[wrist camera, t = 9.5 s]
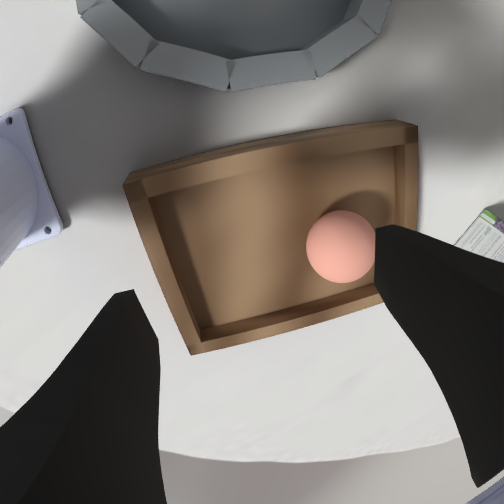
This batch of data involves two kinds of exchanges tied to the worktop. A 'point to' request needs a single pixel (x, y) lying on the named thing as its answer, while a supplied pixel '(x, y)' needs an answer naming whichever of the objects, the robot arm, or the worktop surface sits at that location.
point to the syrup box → (485, 237)
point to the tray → (268, 226)
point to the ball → (341, 246)
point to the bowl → (236, 37)
